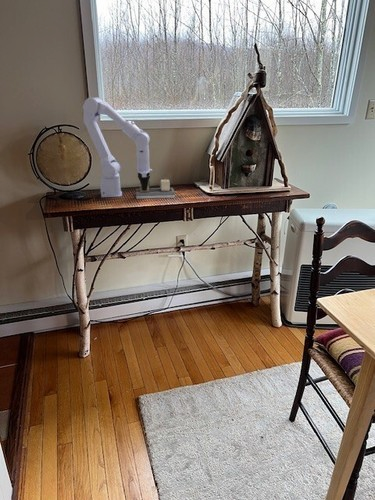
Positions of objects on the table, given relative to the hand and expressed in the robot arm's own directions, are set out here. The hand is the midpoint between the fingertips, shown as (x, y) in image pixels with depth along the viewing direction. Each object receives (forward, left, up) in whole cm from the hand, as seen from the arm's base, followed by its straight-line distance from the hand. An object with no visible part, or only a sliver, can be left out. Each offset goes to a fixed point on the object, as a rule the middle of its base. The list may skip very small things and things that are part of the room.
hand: (144, 189), depth 172 cm
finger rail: (+5, 0, -3) cm, 6 cm away
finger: (0, 0, -2) cm, 2 cm away
